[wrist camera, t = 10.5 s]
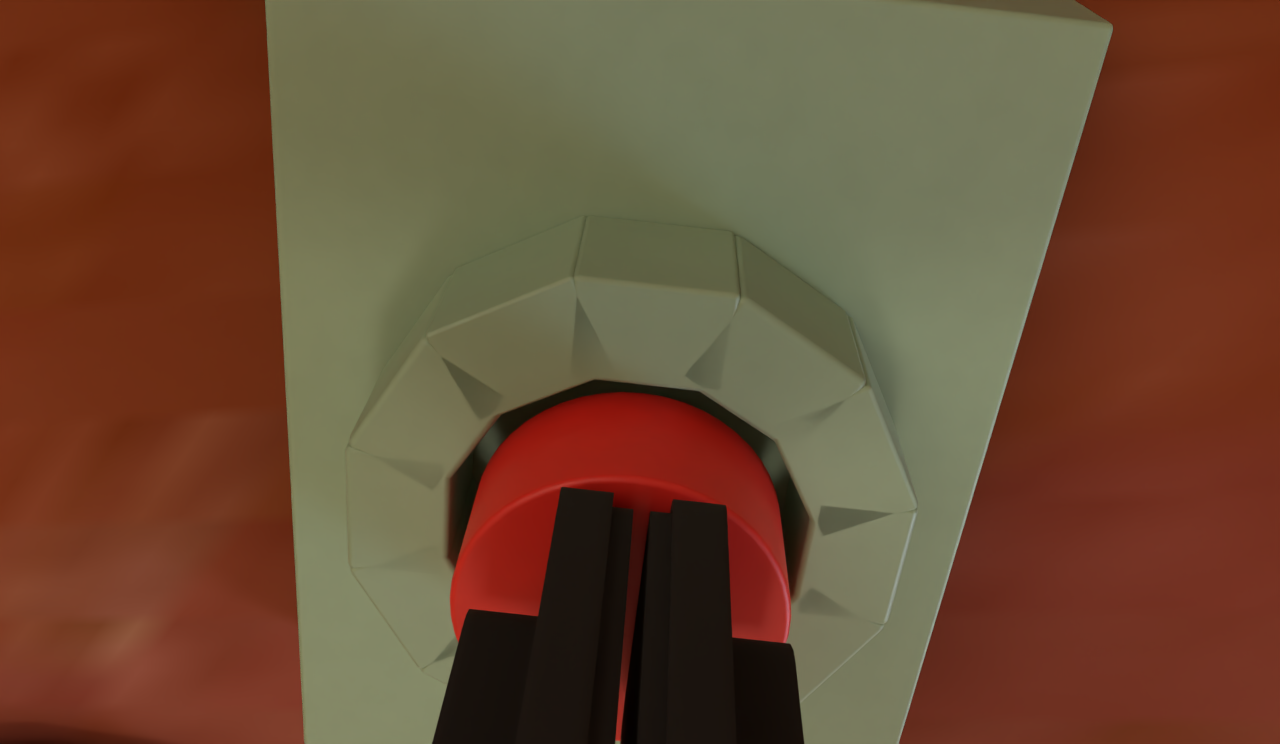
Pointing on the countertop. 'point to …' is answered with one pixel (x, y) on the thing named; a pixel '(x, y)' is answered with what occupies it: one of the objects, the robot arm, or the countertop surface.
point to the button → (622, 506)
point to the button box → (656, 291)
